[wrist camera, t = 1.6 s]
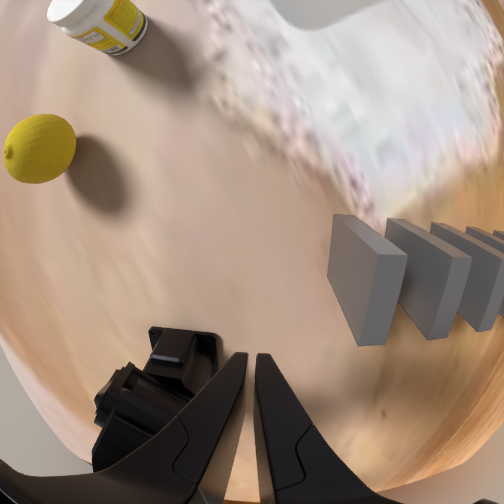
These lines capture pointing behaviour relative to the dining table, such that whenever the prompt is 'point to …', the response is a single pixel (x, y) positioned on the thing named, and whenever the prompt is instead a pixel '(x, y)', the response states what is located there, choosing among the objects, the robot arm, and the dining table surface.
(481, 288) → the domino
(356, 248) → the domino
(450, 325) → the domino
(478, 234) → the domino
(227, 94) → the dining table surface
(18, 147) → the lemon
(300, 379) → the dining table surface
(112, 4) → the supplement bottle
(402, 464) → the dining table surface
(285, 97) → the dining table surface
